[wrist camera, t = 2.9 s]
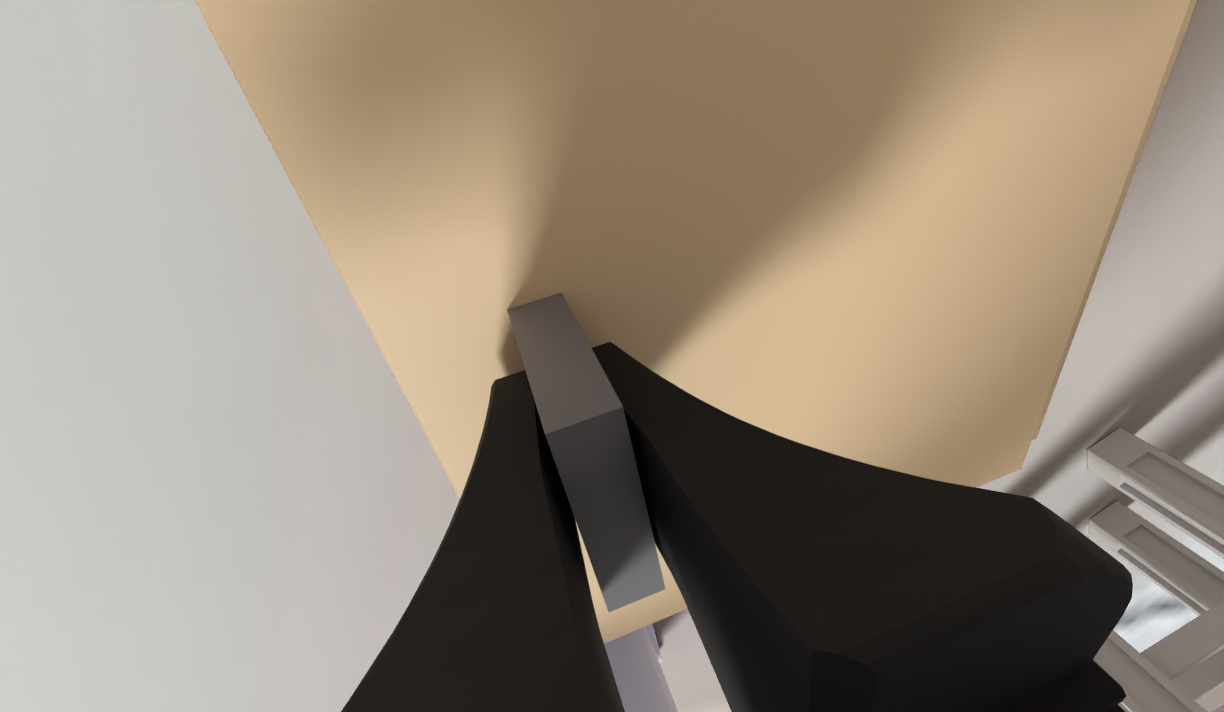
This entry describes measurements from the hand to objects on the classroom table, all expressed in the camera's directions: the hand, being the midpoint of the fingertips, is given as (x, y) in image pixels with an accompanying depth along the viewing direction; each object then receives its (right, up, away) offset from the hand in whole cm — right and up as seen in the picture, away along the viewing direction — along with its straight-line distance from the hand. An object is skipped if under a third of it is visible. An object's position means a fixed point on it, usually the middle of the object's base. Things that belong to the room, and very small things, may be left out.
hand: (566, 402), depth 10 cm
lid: (+5, +2, +2) cm, 6 cm away
